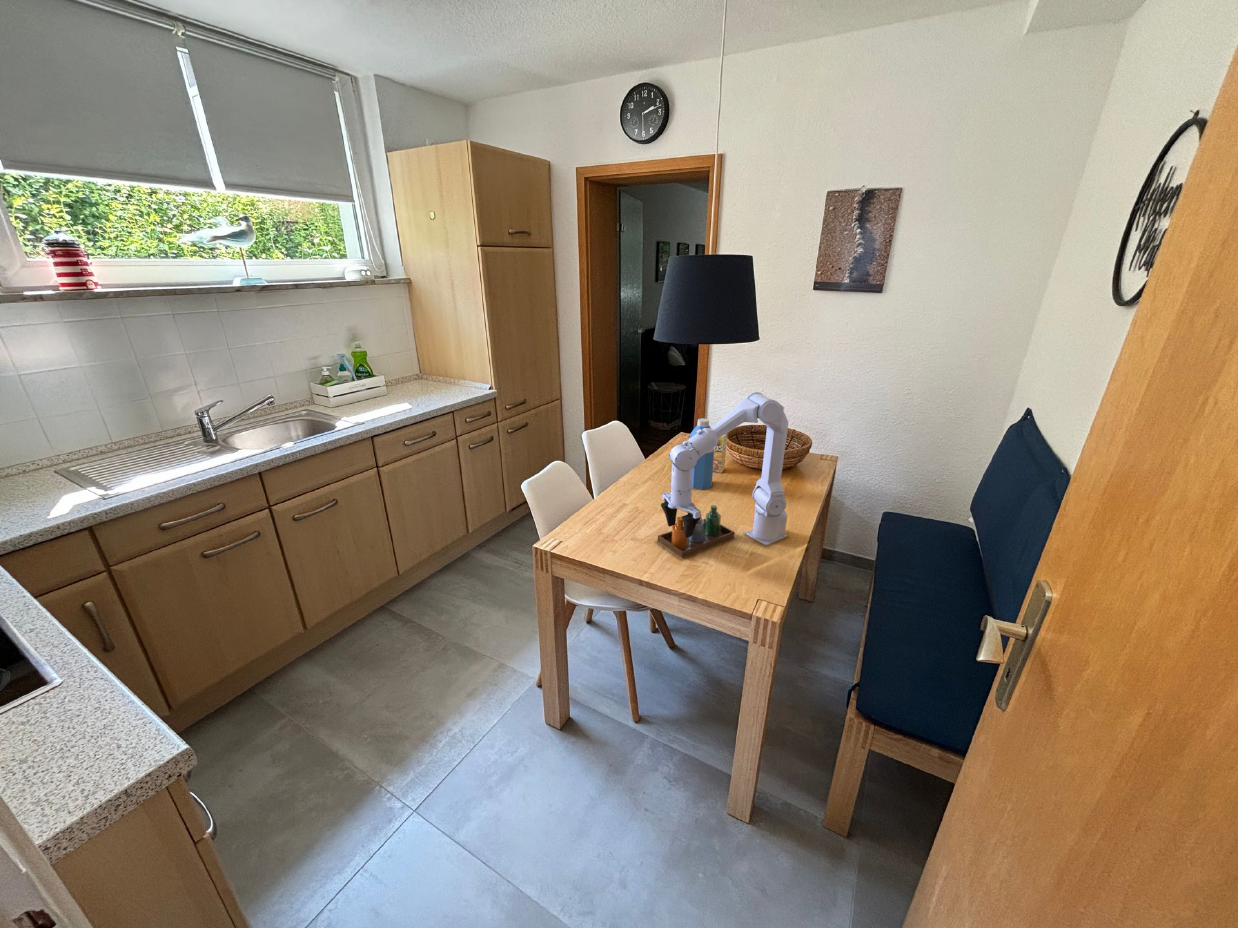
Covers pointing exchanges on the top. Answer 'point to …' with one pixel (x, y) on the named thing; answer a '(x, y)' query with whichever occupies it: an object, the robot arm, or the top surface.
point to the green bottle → (712, 522)
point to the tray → (696, 547)
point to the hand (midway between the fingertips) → (679, 530)
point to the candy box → (720, 454)
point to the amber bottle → (679, 534)
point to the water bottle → (703, 462)
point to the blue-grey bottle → (698, 532)
